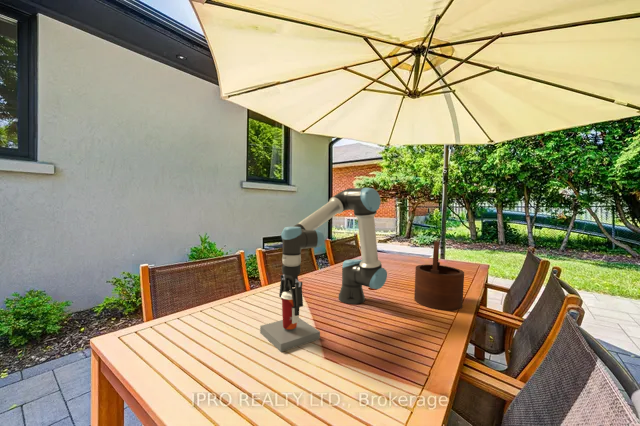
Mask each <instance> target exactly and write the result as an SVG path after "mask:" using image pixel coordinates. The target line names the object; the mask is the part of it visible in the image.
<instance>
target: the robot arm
mask: <svg viewBox="0 0 640 426" xmlns="http://www.w3.org/2000/svg"><path fill="white" fill-rule="evenodd" d="M381 204H382V203H381V196H380V193H379V192H378V191H377V190H376V189H374V188H372V187H354V188H353V187H352V188H351V187H350V188H346V189H344V190H342V191H340V192H338V193H336V194H335V195H333V196H332V197H330V198H329V201H328V202H327V203H326V204H323V206H320V207H319V208H318V209H317V210H315V211H314V212H312V213H311V214H310V215H308V216H306V217H304V219H302V220H300V221H299V222H298V223H296V224H295V225H293V226H285V227H284V228H283V230H282V232H281V235H280V237H281V240H282V257H281V261H282V265H281V275H280V286H279V298H280V299H281V301H282V298H281V295H282V293H283V292H287V291H291V293H292V299H293V305H294V307H292V323H293V324H294V323H298V322H299V318H300V308H302V307H304V300H303V281H299V277H298V276H299V275H300V274H301V263H302V262H301V261H302V258H301V257H302V250H304V249H313V248H314V249H316V248H320V247H321V246H323V245H324V243H325V235H324V233H323V231H321V230H319V229H318V228H319V227H321V226H322V225H323V224H325V223H326V222H329V220H330V219H332V218H333V217H335V216H336V215H337V214H342V213H343V212H345V211H353V215H354V217H356V219H357V224H358V225H357V226H358V236H359V245H360V255H361V259H358V258H357V259H356V258H355V259H352V258H351V259H345V260H344V261H343V262H342V267H341V268H342V270H341V288H340V290H339V293H338V300H339V302H341V303H344V304H350V305H358V304H362V303H364V302H365V300H366V299H365V298H366V297H365V296H366V295H365V294H364V293H365V292H364V288H363V286H364V287H366V288H370V289H374V290H380V289H382V288H383V286H384V285H385V283H386V281H387V279H388V272H387V270H386V269H385V268H384V267H383V266H382V261H380V259H379V255H378V254H379V253H378V245H377V244H378V243H377V233H376V223H375V216H376V214H377V211H378V210H379V209H380V207H381ZM317 229H318V230H317ZM281 316H282V317H283V315H282V314H281Z"/></svg>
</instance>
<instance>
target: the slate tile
mask: <svg viewBox="0 0 640 426" xmlns="http://www.w3.org/2000/svg"><path fill="white" fill-rule="evenodd" d="M259 327H260V329H259V332H260V333H259V334H261V335H262V336H263V337H264V338H266V340H268V342H270V343H271V344H272V346H274V348H276V349H277V351H279V352H280V353H282V352H285V351H288V350H291V349H294V348H297V347H300V346H303V345H306V344H308V343H312V342H314V341H318V340H320V339H321V331H320V330H318V329H317V328H316V327H314V326H312V325H311V324H309V323H308V322H306V321H305V320H303V319H301V318H300V317H299V322H298V323H297V326H296V328H295V329H291V330H288V329H284V328H283V319H281V320H277V321H274V322H270V323H266V324H262V325H260V326H259Z"/></svg>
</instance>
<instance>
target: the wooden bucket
mask: <svg viewBox="0 0 640 426" xmlns="http://www.w3.org/2000/svg"><path fill="white" fill-rule="evenodd" d="M433 243H434V244H433V252H432V255H433V256H432V264H419V265H416V266H415V271H414V272H415V276H414V293H413V294H414V295H413V296H414V297H413V299H414V302H415V303H417V304H419V305H420V306H422V307H425V308H428V309H433V310H435V311H436V310H437V311H442V312H443V311H447V312H449V311H450V312H454V311H459V310H462V308H463V306H464V305H463V303H464V287H465V286H464V283H465V271H464V270H462V269H459V268H456V267H452V266H447V265H442V264H441V262H440V261H439V256H440V255H439V254H440V253H439V252H440V241H434V242H433Z"/></svg>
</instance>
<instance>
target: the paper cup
mask: <svg viewBox="0 0 640 426" xmlns="http://www.w3.org/2000/svg"><path fill="white" fill-rule="evenodd" d="M281 298H282V300H281V316H282V315H283V316H282V320H283V328H284V329H288V330H291V329H295V328H296V326H297V323H294V324H293V323H292V307H294V305H293V299H292V293H291V291H287V292H283V293H282V295H281V297H280V299H281Z"/></svg>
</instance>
